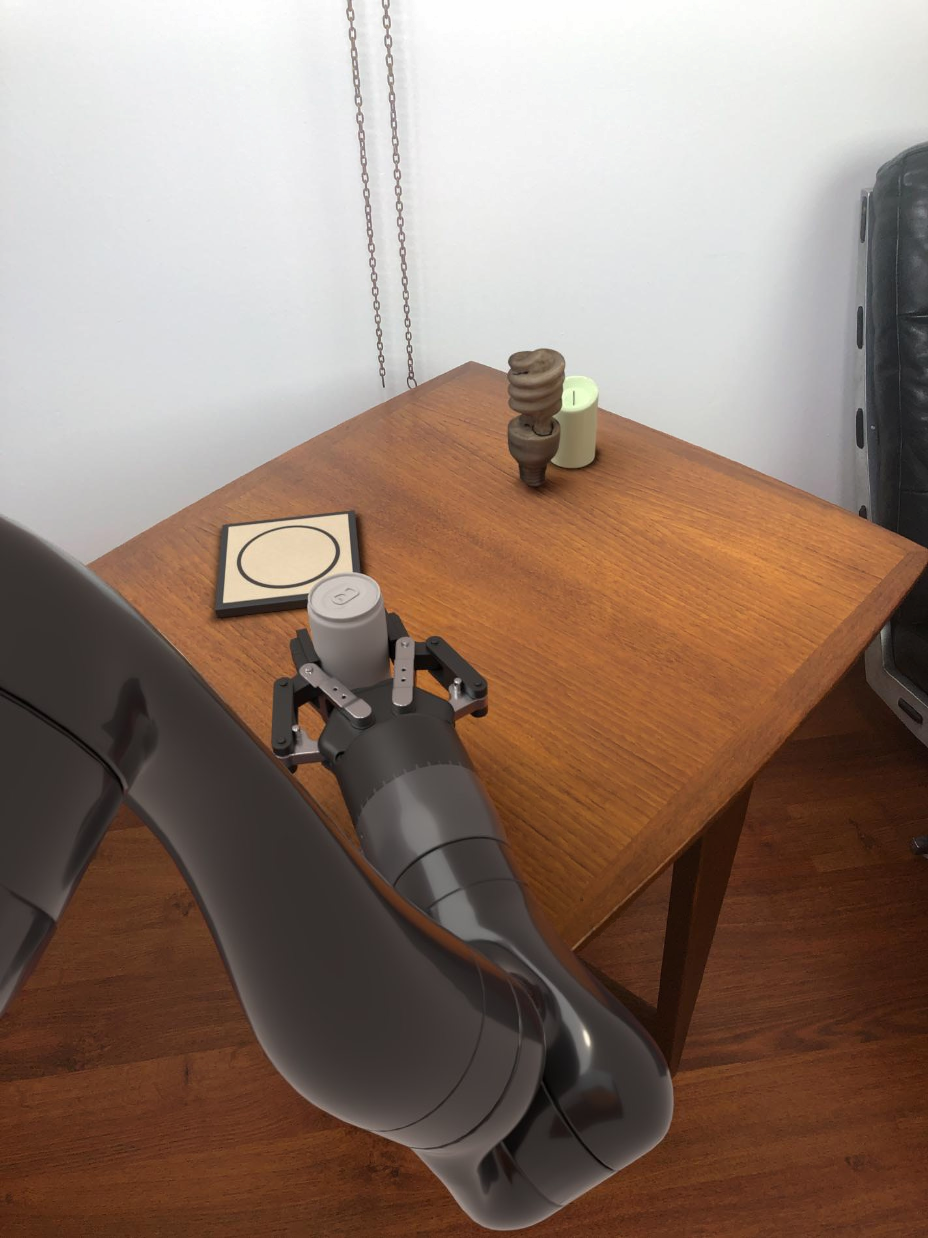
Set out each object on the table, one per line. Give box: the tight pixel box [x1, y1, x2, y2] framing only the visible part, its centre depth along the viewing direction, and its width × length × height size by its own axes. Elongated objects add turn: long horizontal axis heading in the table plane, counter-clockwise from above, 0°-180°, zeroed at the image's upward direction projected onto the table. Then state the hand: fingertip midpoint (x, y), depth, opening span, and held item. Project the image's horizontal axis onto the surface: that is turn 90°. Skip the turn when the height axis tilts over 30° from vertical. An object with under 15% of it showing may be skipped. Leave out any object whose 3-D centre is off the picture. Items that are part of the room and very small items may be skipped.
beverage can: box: [307, 572, 393, 690], centre depth 64 cm, size 5×5×12 cm
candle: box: [550, 375, 600, 469], centre depth 100 cm, size 5×5×8 cm
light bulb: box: [506, 347, 566, 488], centre depth 94 cm, size 6×6×15 cm
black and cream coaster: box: [214, 509, 362, 619], centre depth 90 cm, size 13×13×1 cm
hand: (341, 628), depth 65 cm, fingers closed on beverage can, 5 cm apart
